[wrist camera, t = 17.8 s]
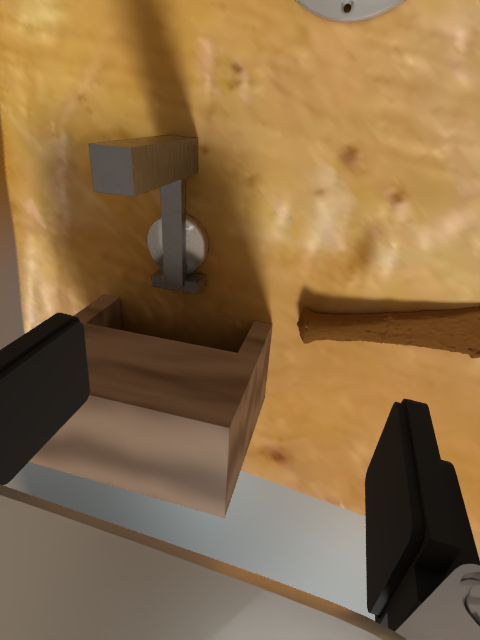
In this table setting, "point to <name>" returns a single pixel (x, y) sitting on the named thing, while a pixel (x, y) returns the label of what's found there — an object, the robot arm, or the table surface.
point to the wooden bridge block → (162, 413)
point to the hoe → (148, 174)
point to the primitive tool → (399, 328)
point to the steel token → (194, 243)
